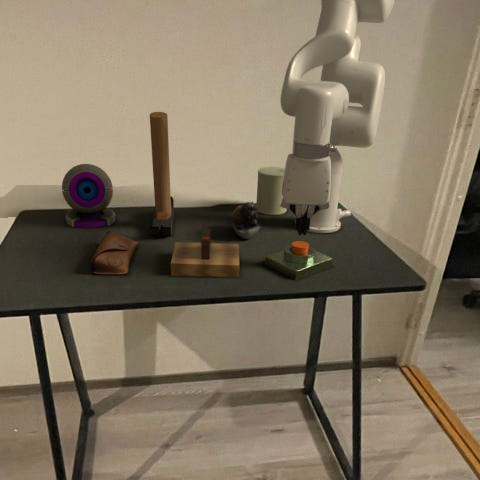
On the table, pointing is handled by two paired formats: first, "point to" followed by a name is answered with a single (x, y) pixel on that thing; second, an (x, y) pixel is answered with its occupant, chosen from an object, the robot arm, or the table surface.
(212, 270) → the light wood flat block
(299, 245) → the button
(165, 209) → the hammer
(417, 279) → the table surface
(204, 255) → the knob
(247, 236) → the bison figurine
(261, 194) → the can
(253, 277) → the table surface
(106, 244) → the sunglasses case
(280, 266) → the button box
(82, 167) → the webcam
